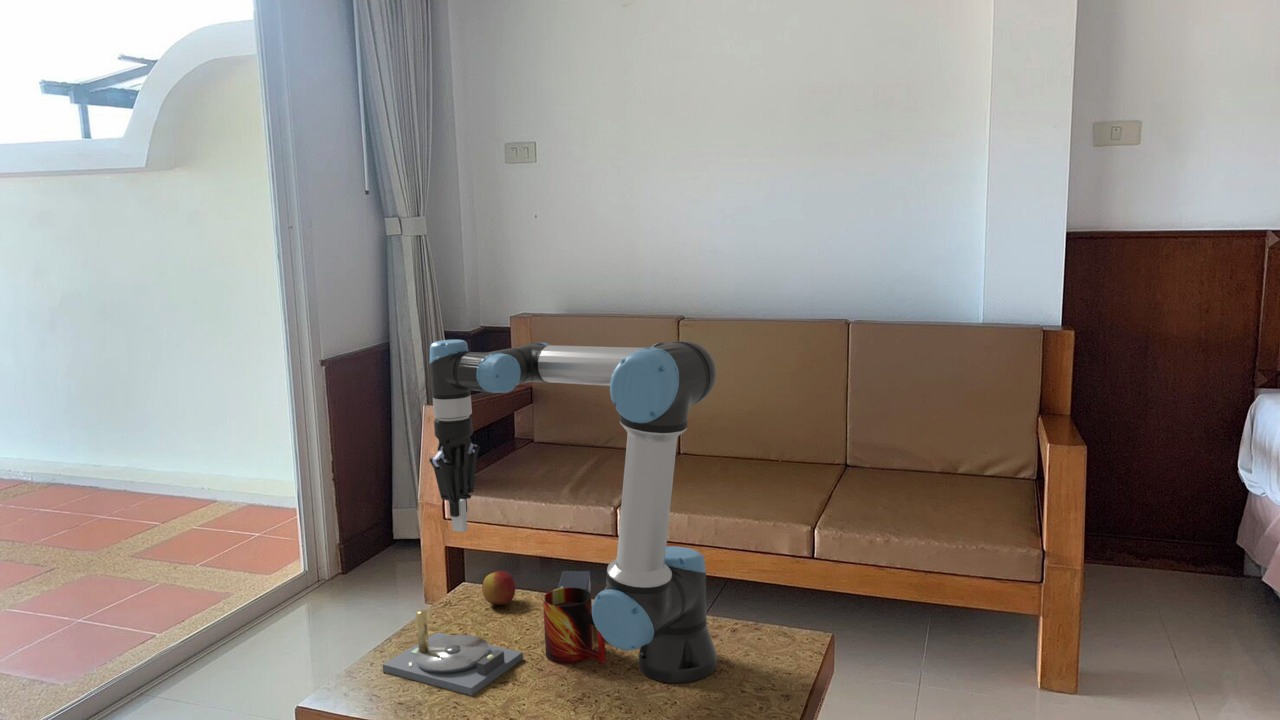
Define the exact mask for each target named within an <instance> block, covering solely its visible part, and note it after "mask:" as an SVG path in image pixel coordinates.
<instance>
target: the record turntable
mask: <svg viewBox="0 0 1280 720" xmlns="http://www.w3.org/2000/svg"><path fill="white" fill-rule="evenodd" d="M450 635H451V634H447V633H442V632H438V631H437V632H435V633H434V634H432V635H430V636H428V642H429V641H432V640H434V639H437V638H441V637H445V636H450ZM488 646H489V654H488V656H486V657H485V658H483V659H482V660H480V661H479V662H477V666H475V667H472V668H469V669H466V670H463V671H458V672H450V673H437V672H430V671H427V670H424V669H422V668H421V667H419V666H418V664H417V659H416V653H417V651H418V643H417V644H415V645H413V646H412V647H409V649H406V650H405V651H402V652H401V653H399V654H398V655H396V656H394V657H393V658H391V659H389V660H388V661H386V662H384V663H382V672H383V673H387V674H391V675H393V676H397V677H400V678H401V677H402V678H405V679H409V680H413V681H415V682H420V683H424V684H427V685H430V686H434V687H438V688H442V689H444V690H449V691H452V692H456V693H460V694H462V695H463V694H464V695H467V696H471V697H472V696H474V695H475V694H477V693H478V692H479V691H480V690H482V689H484V688H485V687H486V686H487V685H490V683H492V682H493V681H495V680H496V679H498V678H499V677H500V676H501V675H503V674H505V673H506V672H507V671H508V670H511V668H513V667H514V666H515V665H518V664H519V663H520V662H521V661H523V660H524V657H523V656H524V654H523V651H520V650H519V651H518V650H514V649H509V648H505V647H502V646H498V645H493V644H489V643H488Z"/></svg>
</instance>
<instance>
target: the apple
mask: <svg viewBox="0 0 1280 720" xmlns="http://www.w3.org/2000/svg"><path fill="white" fill-rule="evenodd" d="M481 588H482V589H481V591H482V593H483V598H484V599H485V601H486V602H487V603H489V604H491V605H495V606H505V605H508V604H510V603H511V602H512V601H513V599H514V597H515V594H516V583H515V580H514V578H513V576H512V575H511V574H510V572H507V571H504V570H497V571H494V572H491V573H489V574H487V575H486V576H485V578H484V579H483V582H482V587H481Z"/></svg>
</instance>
